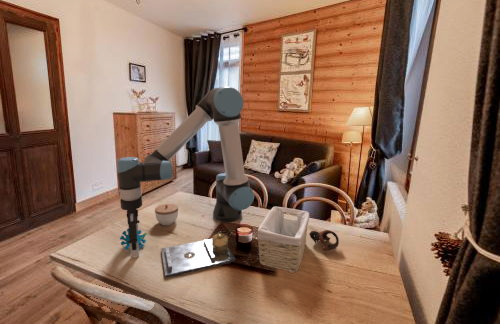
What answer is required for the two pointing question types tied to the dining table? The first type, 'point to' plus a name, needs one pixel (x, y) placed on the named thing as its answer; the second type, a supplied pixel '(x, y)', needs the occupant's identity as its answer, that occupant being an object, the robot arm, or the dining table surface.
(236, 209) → the robot arm
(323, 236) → the dark brown ring ornament
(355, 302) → the dining table surface
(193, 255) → the board
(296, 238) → the storage basket
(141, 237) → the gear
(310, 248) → the dining table surface
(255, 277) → the dining table surface
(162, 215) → the lidded jar
